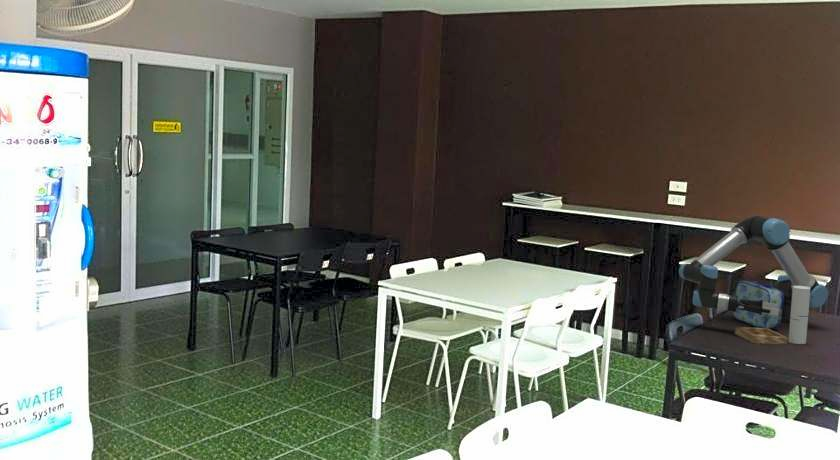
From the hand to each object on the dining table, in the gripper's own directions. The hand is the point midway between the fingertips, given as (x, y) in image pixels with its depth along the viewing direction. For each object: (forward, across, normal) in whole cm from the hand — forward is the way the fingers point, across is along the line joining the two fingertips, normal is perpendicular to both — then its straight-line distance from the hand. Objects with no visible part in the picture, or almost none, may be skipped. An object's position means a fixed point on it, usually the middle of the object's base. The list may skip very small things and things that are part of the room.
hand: (778, 309), depth 369 cm
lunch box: (-8, -27, -14) cm, 31 cm away
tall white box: (+10, 0, -14) cm, 17 cm away
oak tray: (-6, +5, -14) cm, 16 cm away
